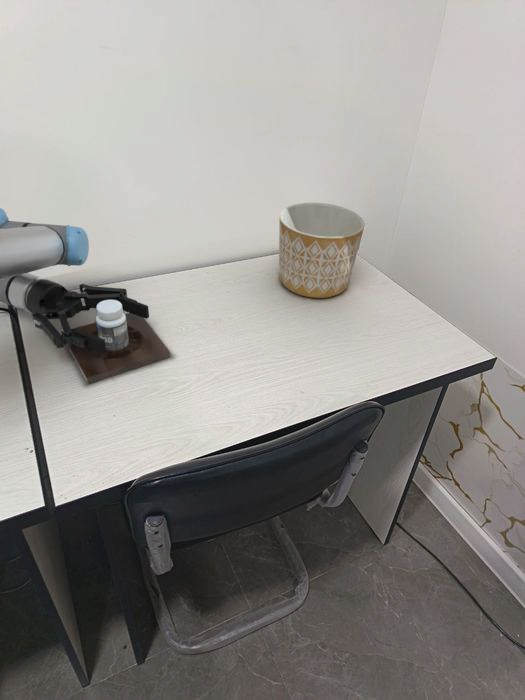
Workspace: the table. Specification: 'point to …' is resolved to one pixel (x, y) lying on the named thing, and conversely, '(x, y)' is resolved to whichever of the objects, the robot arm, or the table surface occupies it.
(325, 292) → the planter
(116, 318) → the pill bottle
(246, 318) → the table surface
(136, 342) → the socket plate
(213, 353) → the table surface
